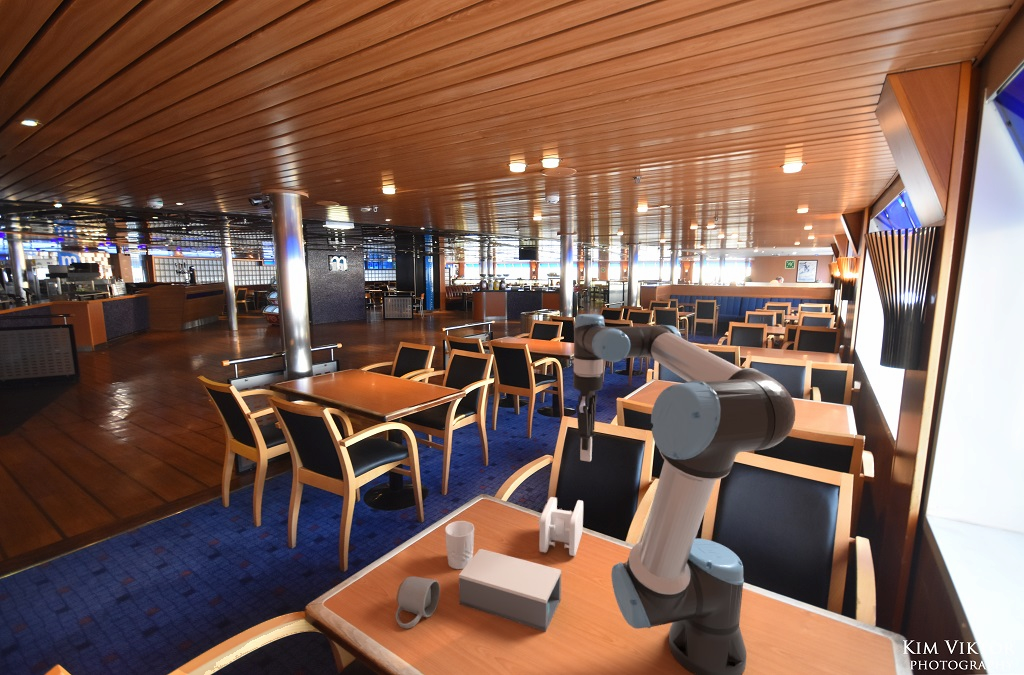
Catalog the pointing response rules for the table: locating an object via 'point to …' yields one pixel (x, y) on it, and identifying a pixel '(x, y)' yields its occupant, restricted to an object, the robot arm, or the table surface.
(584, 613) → the table surface
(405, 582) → the ceramic mug
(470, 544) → the white cup
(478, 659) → the table surface
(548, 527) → the cable organizer
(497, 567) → the panel
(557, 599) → the cable duct
